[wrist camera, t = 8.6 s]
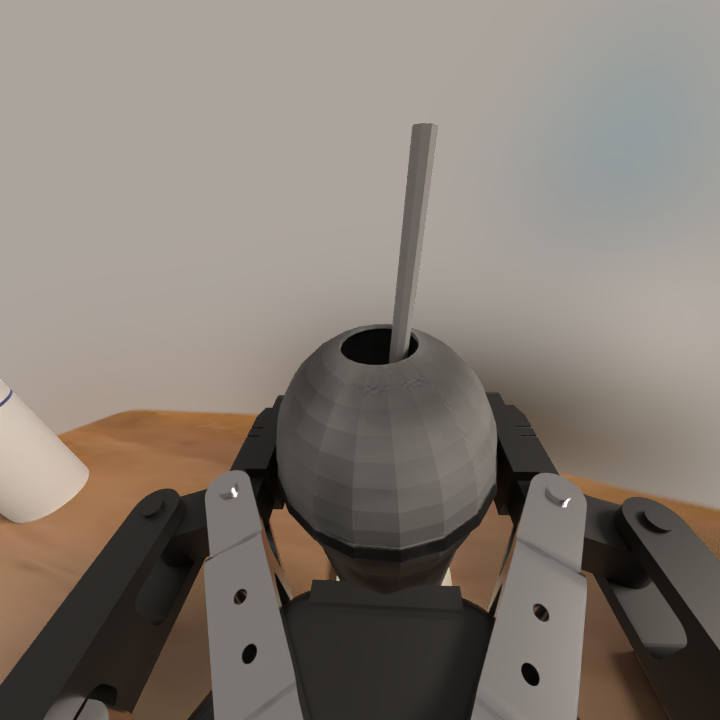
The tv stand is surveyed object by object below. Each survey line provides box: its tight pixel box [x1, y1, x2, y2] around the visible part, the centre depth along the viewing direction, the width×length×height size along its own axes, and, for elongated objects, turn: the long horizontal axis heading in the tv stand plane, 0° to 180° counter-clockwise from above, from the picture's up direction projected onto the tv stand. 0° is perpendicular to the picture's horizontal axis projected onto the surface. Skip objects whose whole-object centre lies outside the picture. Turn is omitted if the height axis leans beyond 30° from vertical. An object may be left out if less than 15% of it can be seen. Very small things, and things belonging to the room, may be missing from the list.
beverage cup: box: [276, 123, 499, 594], centre depth 11 cm, size 7×7×20 cm
